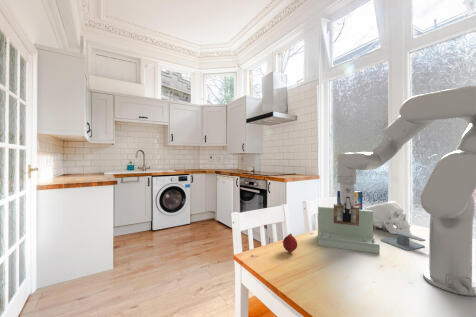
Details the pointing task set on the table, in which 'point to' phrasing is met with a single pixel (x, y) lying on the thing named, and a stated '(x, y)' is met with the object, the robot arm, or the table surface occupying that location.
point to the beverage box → (356, 197)
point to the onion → (290, 243)
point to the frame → (339, 215)
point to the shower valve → (404, 241)
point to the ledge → (346, 232)
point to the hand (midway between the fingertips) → (345, 220)
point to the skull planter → (390, 217)
